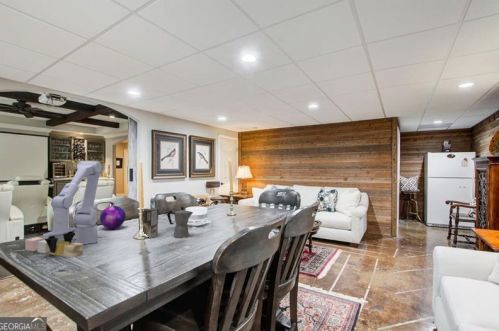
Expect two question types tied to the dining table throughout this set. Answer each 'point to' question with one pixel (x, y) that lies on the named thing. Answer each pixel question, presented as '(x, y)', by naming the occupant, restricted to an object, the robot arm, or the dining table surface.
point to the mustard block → (60, 248)
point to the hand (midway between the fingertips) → (59, 250)
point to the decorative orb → (112, 217)
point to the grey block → (43, 247)
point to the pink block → (32, 243)
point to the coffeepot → (180, 222)
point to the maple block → (73, 250)
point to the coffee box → (150, 222)
